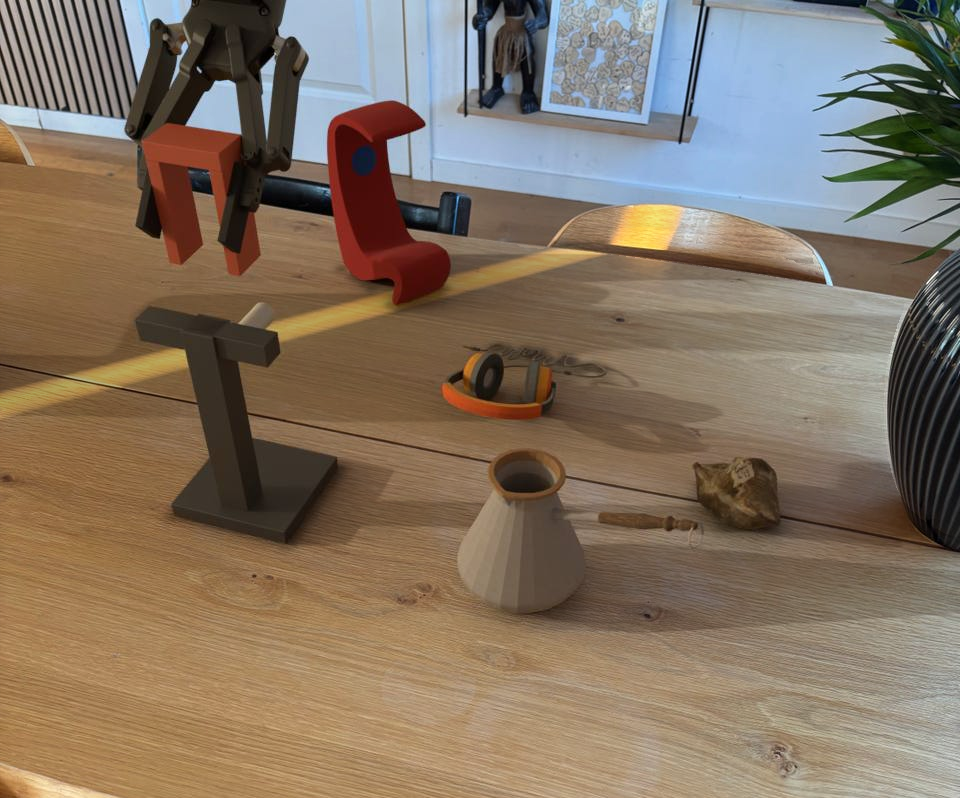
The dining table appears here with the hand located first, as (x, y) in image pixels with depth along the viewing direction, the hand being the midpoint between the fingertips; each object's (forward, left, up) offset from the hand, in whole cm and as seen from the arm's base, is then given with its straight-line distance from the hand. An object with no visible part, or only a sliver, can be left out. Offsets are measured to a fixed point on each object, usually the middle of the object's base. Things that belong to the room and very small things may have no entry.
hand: (188, 239), depth 86 cm
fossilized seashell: (+49, +10, -24) cm, 56 cm away
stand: (+4, -3, -24) cm, 24 cm away
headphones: (+23, +21, -24) cm, 39 cm away
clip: (0, +3, -4) cm, 5 cm away
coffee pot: (+37, -8, -24) cm, 45 cm away
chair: (+1, +40, -24) cm, 46 cm away
